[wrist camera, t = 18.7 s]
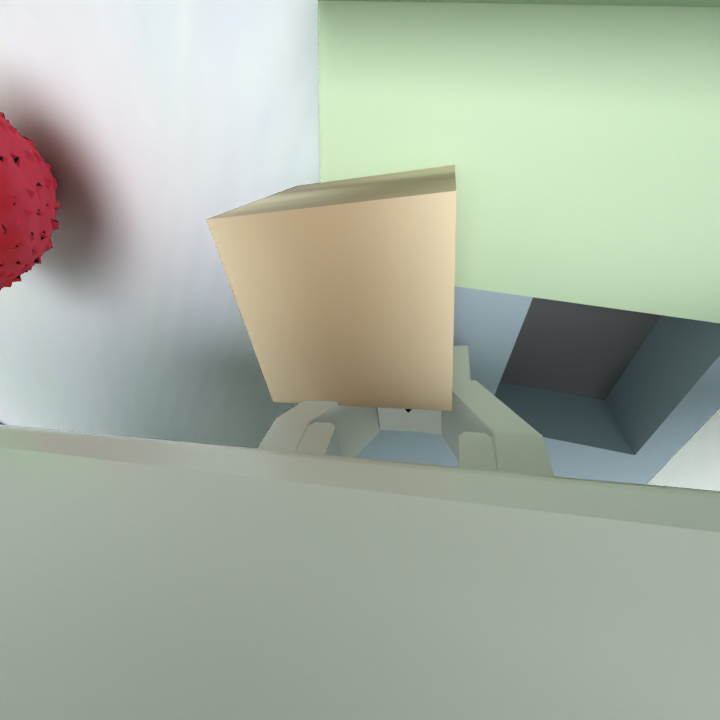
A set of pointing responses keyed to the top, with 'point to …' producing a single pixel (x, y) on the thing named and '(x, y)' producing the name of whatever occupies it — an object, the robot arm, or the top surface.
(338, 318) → the beech block
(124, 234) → the top surface
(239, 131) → the top surface
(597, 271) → the trap board
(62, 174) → the top surface
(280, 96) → the top surface
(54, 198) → the strawberry
